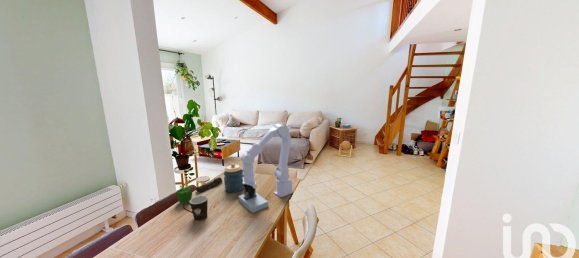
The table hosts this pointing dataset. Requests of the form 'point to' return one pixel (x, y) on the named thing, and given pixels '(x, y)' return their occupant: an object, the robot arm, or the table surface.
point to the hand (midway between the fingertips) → (250, 195)
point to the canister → (233, 178)
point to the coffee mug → (198, 207)
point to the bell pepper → (184, 195)
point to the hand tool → (209, 185)
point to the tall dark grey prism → (246, 194)
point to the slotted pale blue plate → (254, 203)
